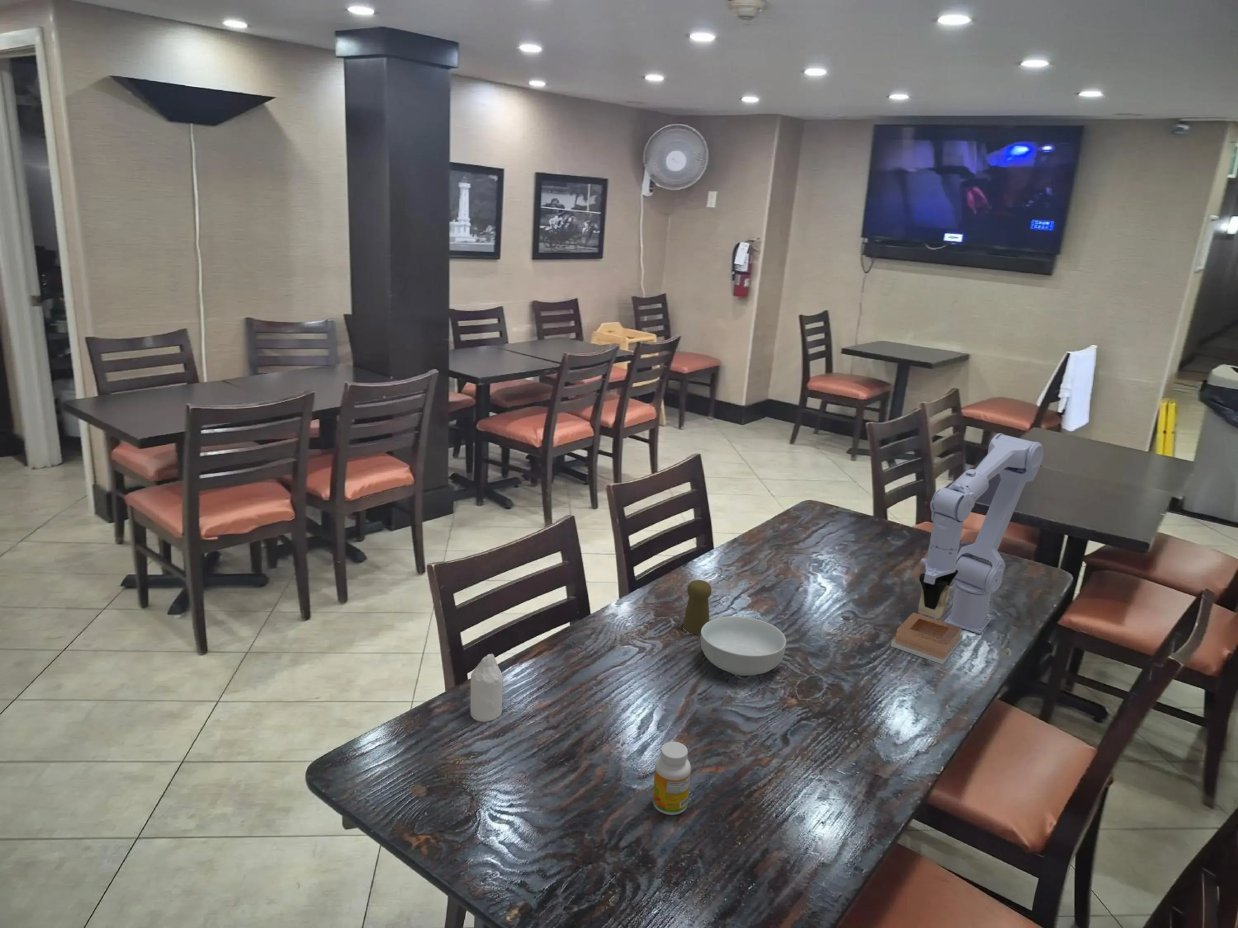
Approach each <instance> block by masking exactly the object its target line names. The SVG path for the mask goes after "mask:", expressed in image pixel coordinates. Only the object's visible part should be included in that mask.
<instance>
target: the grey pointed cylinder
mask: <svg viewBox="0 0 1238 928" xmlns="http://www.w3.org/2000/svg"><path fill="white" fill-rule="evenodd" d="M503 689H504V676H503V674H502V671H501V669H500V666H498V662H497V659H496V658H495V655H494V654H493V653H489V654H487V655H486V656H484V657H483V658H482V659H481V661H480V662H479V663H478V664H477V666H475V668H474V669H473V670H472V672H471V675H470V716H471V718H473V719H474V721H477V722H481V723H483V722H491V721H493V720H495V719H497V718H499V717H500V716H501V715H502V712H503V691H504V690H503Z"/></svg>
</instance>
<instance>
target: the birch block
mask: <svg viewBox="0 0 1238 928" xmlns="http://www.w3.org/2000/svg"><path fill="white" fill-rule="evenodd" d="M950 586H951V585H950ZM950 586H948V585H946V587H945V588H944V590H943V591H942V594H941V596H940V599H939V602H938V604H937V607H936V608H935V610H933V609H930V608H927V607H925V605H924V593H923V588H922V587H921V592H920V597H919V602H918V603H919V604H918V608H917V613H918V614H921V615H922V614H923V615H924V616H927V617H931V618H934V619H937V620H940V619H941V617H943V615H944V614H945V613H946V611H947V606H948V600H949V595H950V591H951V590H950V589H951V587H950Z"/></svg>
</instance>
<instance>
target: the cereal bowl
mask: <svg viewBox="0 0 1238 928" xmlns="http://www.w3.org/2000/svg"><path fill="white" fill-rule="evenodd" d="M699 639H700V645H701V649H702V652H703V655H705V657H706V658H707V660H708V661H709V662H710V663H711V664H712V665H714V666H715V667H717V668H718V669H721V670H722V671H726V672H727V673H729V674H732V675H735V676H741V677H742V676H743V677H749V676H755V675H762V674H765V673H768V672H770V671H771V670H773V669H775V668H777V666H778V665H779V664H780V663H781V662H782V661H783V660H782V659H784V656H785V654H786V653H785V652H786V647H787V637H786V636H785V634H784V633H783V631H781V630H780V629H779V628H778V627H776V626H775V625H773V624H771V623H769V622H767V621H763V620H760V619H757V618H753V617H750V616H749V617H748V616H739V615H738V616H737V615H732V616H730V615H729V616H721V617H716V618H713V619H711V620H709V622H707V623H706V624H705V625H704V626H703V627H702V629H701V635H700V638H699Z"/></svg>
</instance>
